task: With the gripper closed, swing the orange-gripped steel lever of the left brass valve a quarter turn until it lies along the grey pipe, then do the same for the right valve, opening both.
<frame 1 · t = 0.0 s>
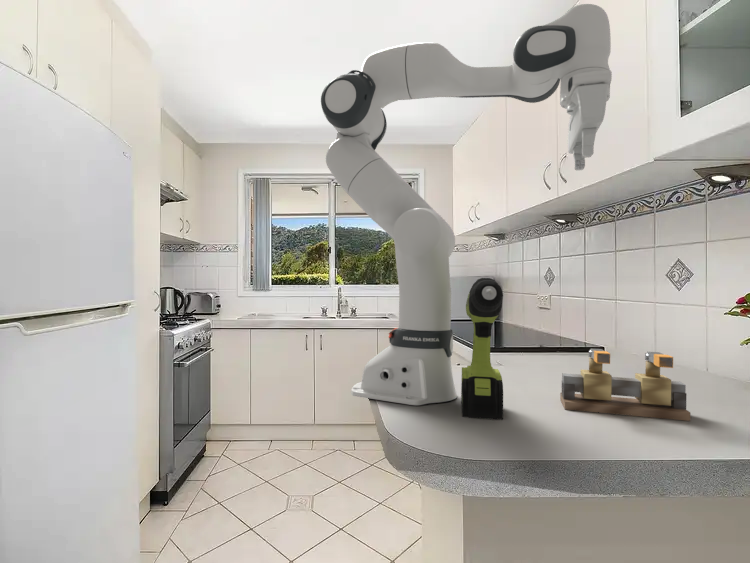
hand: (583, 163, 88), 48 cm above the countertop, tool pointing down, fingers open, 8 cm apart
right valve lever: (658, 358, 83), point 11 cm above the countertop, hinge at 0.0°
cordless drill: (482, 418, 81), on the countertop
left valve lever: (598, 354, 86), point 11 cm above the countertop, hinge at 0.0°
valve manifold: (620, 409, 88), on the countertop
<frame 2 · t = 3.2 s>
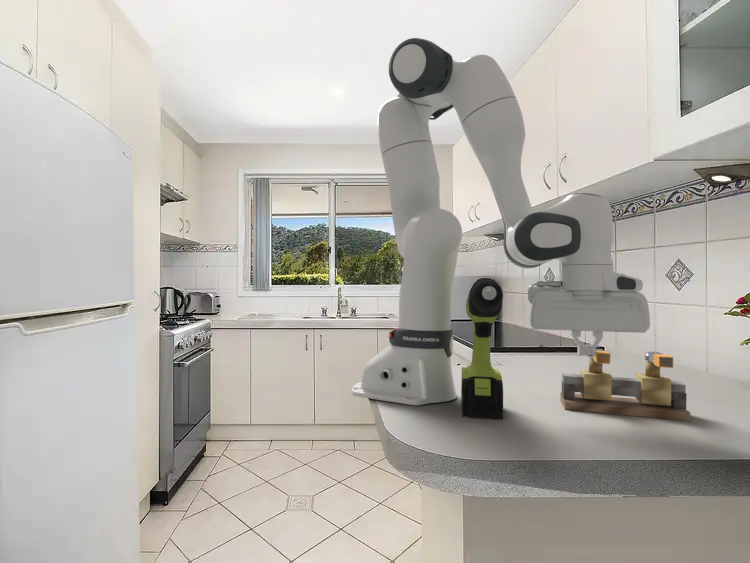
hand: (586, 355, 84), 11 cm above the countertop, tool pointing down, fingers closed
nothing on the countertop moved.
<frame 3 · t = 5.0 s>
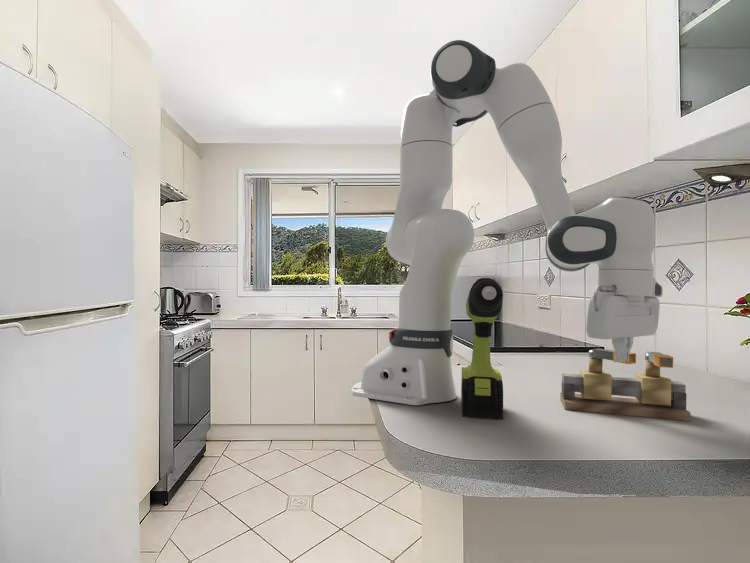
hand: (621, 361, 82), 10 cm above the countertop, tool pointing down, fingers closed, pressing on left valve lever
left valve lever: (610, 355, 86), point 11 cm above the countertop, hinge at 43.1°, touching gripper
everything else where it was.
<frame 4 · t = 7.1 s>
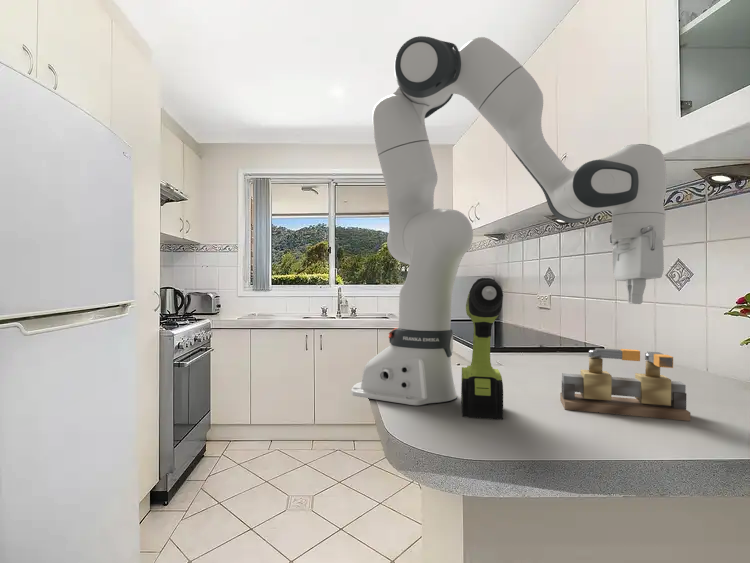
hand: (634, 303, 86), 21 cm above the countertop, tool pointing down, fingers closed
left valve lever: (613, 353, 88), point 11 cm above the countertop, hinge at 87.2°
everything else where it was.
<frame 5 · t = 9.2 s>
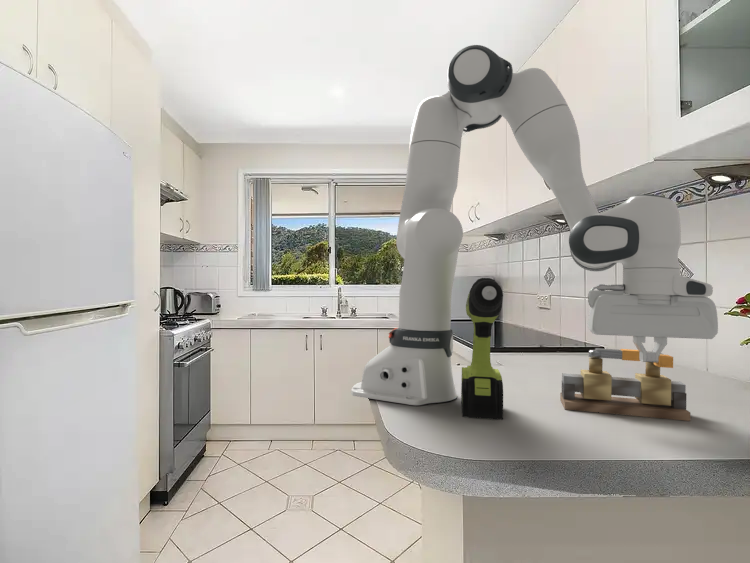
hand: (649, 361, 81), 11 cm above the countertop, tool pointing down, fingers closed
right valve lever: (658, 358, 83), point 11 cm above the countertop, hinge at 0.0°, touching gripper
everything else where it was.
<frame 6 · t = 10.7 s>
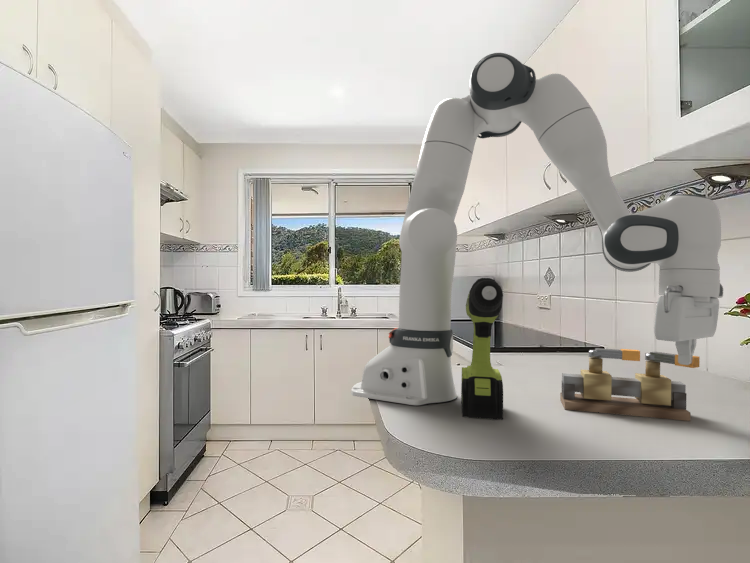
hand: (685, 364, 80), 10 cm above the countertop, tool pointing down, fingers closed, pressing on right valve lever
right valve lever: (670, 358, 84), point 11 cm above the countertop, hinge at 45.7°, touching gripper
everything else where it was.
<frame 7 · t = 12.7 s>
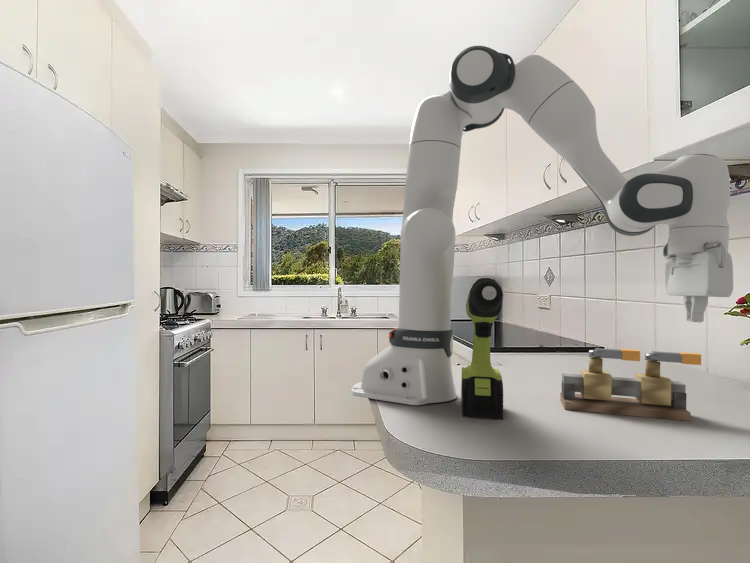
hand: (694, 321, 81), 18 cm above the countertop, tool pointing down, fingers closed
right valve lever: (671, 357, 85), point 11 cm above the countertop, hinge at 86.3°
everything else where it was.
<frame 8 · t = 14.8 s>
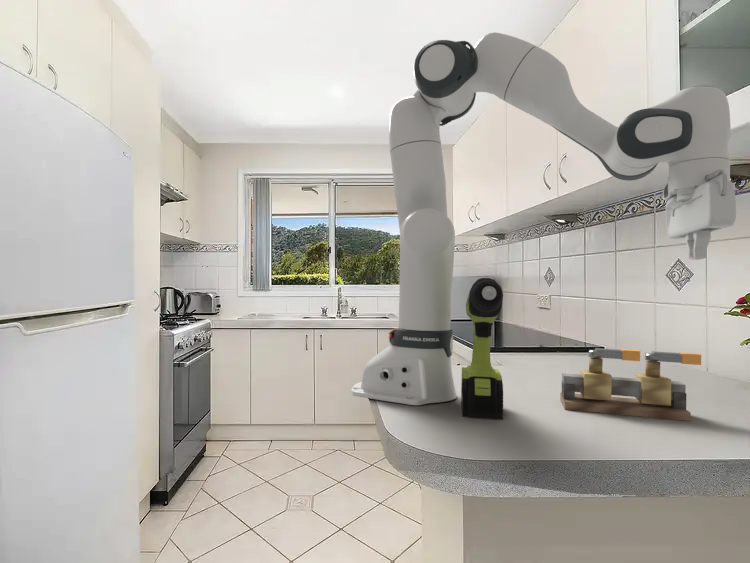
hand: (697, 259, 79), 29 cm above the countertop, tool pointing down, fingers closed
nothing on the countertop moved.
at the end: left valve lever at +87° (first picture: +0°); right valve lever at +86° (first picture: +0°) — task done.
